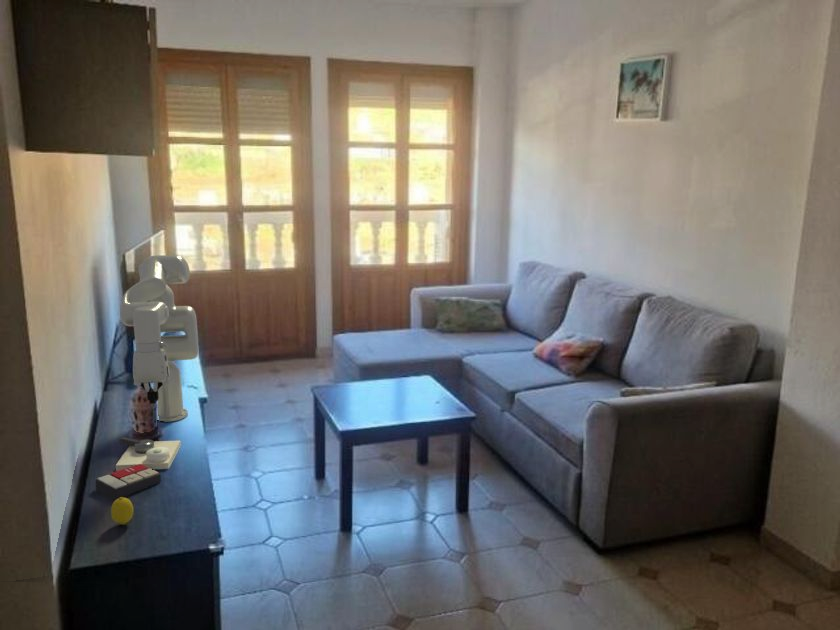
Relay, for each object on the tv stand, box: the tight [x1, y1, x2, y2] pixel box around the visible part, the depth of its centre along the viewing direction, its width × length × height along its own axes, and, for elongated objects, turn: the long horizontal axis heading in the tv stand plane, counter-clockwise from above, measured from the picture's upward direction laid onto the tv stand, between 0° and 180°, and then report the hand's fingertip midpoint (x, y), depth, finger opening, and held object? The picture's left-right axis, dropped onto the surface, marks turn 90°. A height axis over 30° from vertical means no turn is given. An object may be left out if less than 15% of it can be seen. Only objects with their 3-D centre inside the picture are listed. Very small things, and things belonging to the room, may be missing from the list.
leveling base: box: [115, 440, 182, 472], centre depth 228 cm, size 18×16×5 cm
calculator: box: [95, 464, 162, 501], centre depth 209 cm, size 11×4×15 cm
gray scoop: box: [119, 436, 155, 454], centre depth 231 cm, size 13×6×2 cm, turn 66°
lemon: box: [110, 497, 134, 526], centre depth 186 cm, size 6×6×8 cm
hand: (153, 402), depth 219 cm, fingers closed
